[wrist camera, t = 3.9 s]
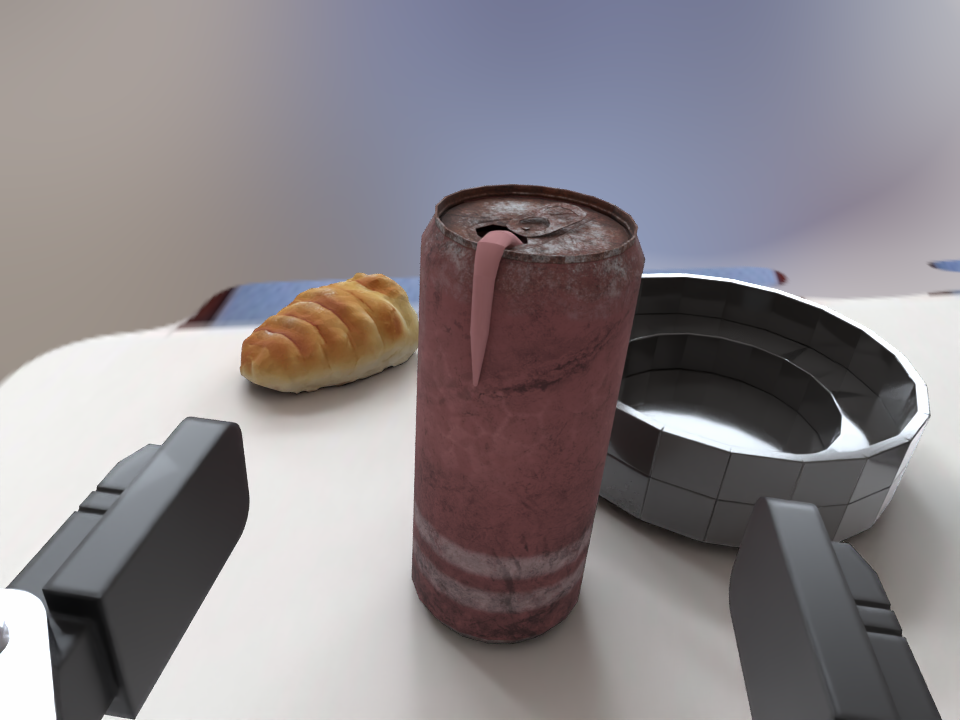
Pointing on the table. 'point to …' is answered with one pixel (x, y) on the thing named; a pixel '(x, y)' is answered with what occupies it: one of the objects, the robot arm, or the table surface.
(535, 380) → the can
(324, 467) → the table surface
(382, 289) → the pastry
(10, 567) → the table surface
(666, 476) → the bowl
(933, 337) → the table surface
